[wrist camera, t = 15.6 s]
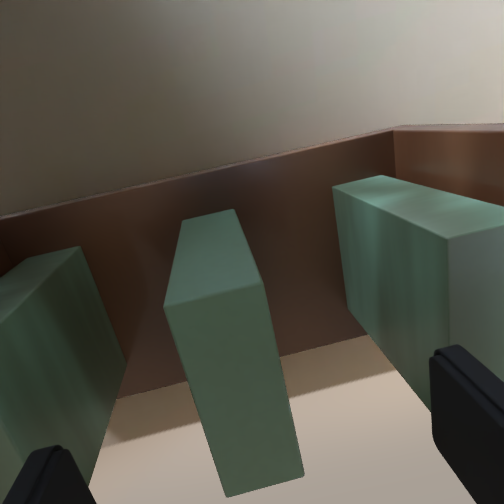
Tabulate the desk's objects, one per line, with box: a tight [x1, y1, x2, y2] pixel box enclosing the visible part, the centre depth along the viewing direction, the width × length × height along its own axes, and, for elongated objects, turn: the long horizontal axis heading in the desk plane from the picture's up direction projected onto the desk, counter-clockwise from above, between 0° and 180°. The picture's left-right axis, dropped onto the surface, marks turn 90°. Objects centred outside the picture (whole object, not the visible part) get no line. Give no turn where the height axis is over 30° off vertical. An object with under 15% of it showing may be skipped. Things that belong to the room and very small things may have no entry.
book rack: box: [0, 123, 504, 504], centre depth 15 cm, size 21×11×11 cm, turn 102°
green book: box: [163, 209, 304, 497], centre depth 14 cm, size 3×7×9 cm, turn 12°
